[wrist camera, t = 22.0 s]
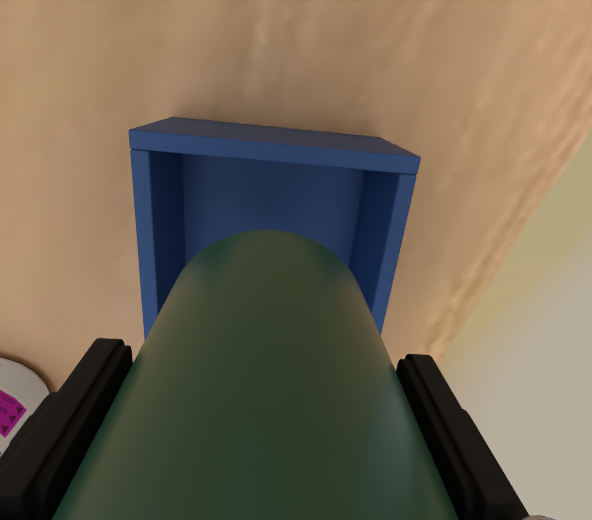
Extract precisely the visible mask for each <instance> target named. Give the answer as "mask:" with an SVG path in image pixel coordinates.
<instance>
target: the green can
mask: <svg viewBox="0 0 592 520" xmlns="http://www.w3.org/2000/svg"><path fill="white" fill-rule="evenodd" d="M52 520H459V519H458V516H457V514H456V512H455V509H454V507H453V505H452V502H451V500H450V498H449V495H448V493H447V491H446V488H445V486H444V484H443V481H442V479H441V477H440V474H439V472H438V470H437V467H436V465H435V463H434V460H433V458H432V456H431V453H430V451H429V449H428V446H427V444H426V442H425V439H424V437H423V434H422V432H421V430H420V427H419V425H418V423H417V420H416V418H415V416H414V413H413V411H412V409H411V406H410V404H409V402H408V399H407V397H406V395H405V392H404V390H403V388H402V385H401V383H400V381H399V378H398V376H397V374H396V371H395V369H394V367H393V364H392V362H391V360H390V357H389V355H388V352H387V350H386V348H385V345H384V343H383V341H382V338H381V336H380V334H379V331H378V329H377V327H376V324H375V322H374V320H373V317H372V315H371V313H370V310H369V308H368V306H367V303H366V301H365V299H364V296H363V294H362V292H361V289H360V287H359V285H358V283H357V281H356V279H355V277H354V275H353V273H352V272H351V271H350V269H349V268H348V267H347V265H346V264H345V263H344V262H343V261H342V260H341V259H340V258H339V257H338V256H337V255H336V254H335V253H333V252H332V251H331V250H329V249H328V248H327V247H325V246H323V245H322V244H320V243H318V242H316V241H314V240H312V239H310V238H307V237H305V236H302V235H298V234H295V233H291V232H285V231H278V230H255V231H247V232H242V233H238V234H234V235H231V236H228V237H226V238H223V239H220V240H219V241H217V242H215V243H213V244H211V245H209V246H208V247H206V248H205V249H203V250H202V251H201V252H199V253H198V254H197V255H196V256H195V257H194V258H193V259H192V260H191V261H190V262H189V263H188V264H187V265H186V266H185V268H184V269H183V270H182V272H181V273H180V275H179V277H178V278H177V280H176V282H175V284H174V286H173V288H172V290H171V291H170V293H169V295H168V297H167V299H166V301H165V303H164V305H163V307H162V309H161V311H160V313H159V315H158V316H157V318H156V320H155V322H154V324H153V326H152V328H151V330H150V332H149V334H148V336H147V338H146V339H145V341H144V343H143V345H142V347H141V349H140V351H139V353H138V355H137V357H136V359H135V361H134V362H133V364H132V366H131V368H130V370H129V372H128V374H127V376H126V378H125V380H124V382H123V384H122V386H121V387H120V389H119V391H118V393H117V395H116V397H115V399H114V401H113V403H112V405H111V407H110V409H109V410H108V412H107V414H106V416H105V418H104V420H103V422H102V424H101V426H100V428H99V430H98V432H97V434H96V435H95V437H94V439H93V441H92V443H91V445H90V447H89V449H88V451H87V453H86V455H85V457H84V458H83V460H82V462H81V464H80V466H79V468H78V470H77V472H76V474H75V476H74V478H73V480H72V481H71V483H70V485H69V487H68V489H67V491H66V493H65V495H64V497H63V499H62V501H61V503H60V505H59V506H58V508H57V510H56V512H55V514H54V516H53V518H52Z"/></svg>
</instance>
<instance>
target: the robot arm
mask: <svg viewBox="0 0 592 520" xmlns="http://www.w3.org/2000/svg"><path fill="white" fill-rule="evenodd" d="M132 364H133V361H132V350H131V347H130V346H126V345H124V342H123V340H122V339H106V338H98V339H96V340H95V341H94V342H93V344H92V345H91V347H90V348H89V349H88V351H87V352H86V353H85V355H84V356H83V358H82V359H81V360H80V362H79V363H78V365H77V366H76V367H75V369H74V370H73V371H72V373H71V374H70V376H69V377H68V378H67V380H66V381H65V383H64V384H63V385H62V387H61V388H60V389H59V391H58V392H52V393H50V394H48V395H47V396H46V397H45V398H44V399H43V401H42V402H41V403H40V405H39V406H38V407H37V409H36V410H35V411H34V413H33V414H32V415H31V417H30V418H29V419H28V421H27V422H26V423H25V425H24V426H23V427H22V429H21V430H20V431H19V433H18V434H17V435H16V437H15V438H14V439H13V441H12V442H11V443H10V445H9V446H8V447H7V449H6V450H5V451H4V453H3V454H2V455H1V457H0V520H52V518H53V516H54V514H55V512H56V510H57V508H58V506H59V505H60V503H61V501H62V499H63V497H64V495H65V493H66V491H67V489H68V487H69V485H70V483H71V481H72V480H73V478H74V476H75V474H76V472H77V470H78V468H79V466H80V464H81V462H82V460H83V458H84V457H85V455H86V453H87V451H88V449H89V447H90V445H91V443H92V441H93V439H94V437H95V435H96V434H97V432H98V430H99V428H100V426H101V424H102V422H103V420H104V418H105V416H106V414H107V412H108V410H109V409H110V407H111V405H112V403H113V401H114V399H115V397H116V395H117V393H118V391H119V389H120V387H121V386H122V384H123V382H124V380H125V378H126V376H127V374H128V372H129V370H130V368H131V366H132ZM396 374H397V376H398V378H399V381H400V383H401V385H402V388H403V390H404V392H405V395H406V397H407V399H408V402H409V404H410V406H411V409H412V411H413V413H414V416H415V418H416V420H417V423H418V425H419V427H420V430H421V432H422V434H423V437H424V439H425V442H426V444H427V446H428V449H429V451H430V453H431V456H432V458H433V460H434V463H435V465H436V467H437V470H438V472H439V474H440V477H441V479H442V481H443V484H444V486H445V488H446V491H447V493H448V495H449V498H450V500H451V502H452V505H453V507H454V509H455V512H456V514H457V516H458V519H459V520H555V519H552V518H548V517H545V516H541V515H536V516H529V514H528V512H527V511H526V509H525V507H524V506H523V504H522V502H521V501H520V499H519V497H518V496H517V494H516V492H515V491H514V489H513V487H512V486H511V484H510V482H509V480H508V479H507V477H506V475H505V474H504V472H503V470H502V469H501V467H500V465H499V464H498V462H497V460H496V459H495V457H494V455H493V454H492V452H491V450H490V449H489V447H488V445H487V444H486V442H485V440H484V439H483V437H482V435H481V434H480V432H479V430H478V429H477V427H476V425H475V424H474V422H473V420H472V419H471V417H470V415H469V414H468V413H467V411H465V410H464V409H462V408H461V406H460V405H459V403H458V401H457V399H456V397H455V396H454V394H453V392H452V391H451V389H450V387H449V386H448V384H447V382H446V381H445V379H444V377H443V375H442V374H441V372H440V370H439V368H438V367H437V365H436V363H435V362H434V360H433V358H432V357H431V356H430V355H420V354H407V355H406V357H405V359H400V360H399V362H398V365H397V369H396Z"/></svg>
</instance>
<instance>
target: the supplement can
mask: <svg viewBox="0 0 592 520" xmlns="http://www.w3.org/2000/svg"><path fill="white" fill-rule="evenodd" d="M48 394H50V393H49V391H48V389H47V387H46V384H45V383H44V382H43V381H42V380H41V379H40V377H39V376H38V375H37V374H36V373H35V372H33V371H32V370H30V369H28V368H27V367H25V366H23V365H22V364H20V363H17V362H14V361H11V360H8V359H4V358H0V457H1V455H2V454H3V453H4V451H5V450H6V449H7V447H8V446H9V445H10V443H11V442H12V441H13V439H14V438H15V437H16V435H17V434H18V433H19V431H20V430H21V429H22V427H23V426H24V425H25V423H26V422H27V421H28V419H29V418H30V417H31V415H32V414H33V413H34V411H35V410H36V409H37V407H38V406H39V405H40V403H41V402H42V401H43V399H44V398H45V397H46V396H47V395H48Z"/></svg>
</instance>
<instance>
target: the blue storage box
mask: <svg viewBox="0 0 592 520" xmlns="http://www.w3.org/2000/svg"><path fill="white" fill-rule="evenodd" d="M129 140H130V148H131V151H130V152H131V165H132V179H133V192H134V205H135V218H136V231H137V244H138V258H139V271H140V284H141V297H142V310H143V324H144V337H145V339H146V338H147V336H148V334H149V332H150V330H151V328H152V326H153V324H154V322H155V320H156V318H157V316H158V315H159V313H160V311H161V309H162V307H163V305H164V303H165V301H166V299H167V297H168V295H169V293H170V291H171V290H172V288H173V286H174V284H175V282H176V280H177V278H178V277H179V275H180V273H181V272H182V270H183V269H184V268H185V266H186V265H187V264H188V263H189V262H190V261H191V260H192V259H193V258H194V257H195V256H196V255H197V254H198V253H199V252H201V251H202V250H203V249H205V248H206V247H208V246H209V245H211V244H213V243H215V242H217V241H219V240H220V239H223V238H226V237H228V236H231V235H234V234H238V233H242V232H247V231H255V230H278V231H285V232H291V233H295V234H298V235H302V236H305V237H307V238H310V239H312V240H314V241H316V242H318V243H320V244H322V245H323V246H325V247H327V248H328V249H329V250H331V251H332V252H333V253H335V254H336V255H337V256H338V257H339V258H340V259H341V260H342V261H343V262H344V263H345V264H346V265H347V267H348V268H349V269H350V271H351V272H352V273H353V275H354V277H355V279H356V281H357V283H358V285H359V287H360V289H361V292H362V294H363V296H364V299H365V301H366V303H367V306H368V308H369V310H370V313H371V315H372V317H373V320H374V322H375V324H376V327H377V329H378V331H379V334H380V336H381V331H382V327H383V323H384V318H385V314H386V309H387V305H388V300H389V296H390V292H391V287H392V283H393V278H394V274H395V269H396V265H397V260H398V256H399V252H400V247H401V243H402V238H403V234H404V229H405V225H406V221H407V216H408V212H409V207H410V203H411V198H412V194H413V190H414V185H415V181H416V174H417V173H418V168H419V164H420V159H421V157H419V156H417V155H415V154H413V153H411V152H409V151H407V150H405V149H403V148H400V147H398V146H396V145H394V144H392V143H390V142H388V141H386V140H384V139H382V138H380V137H371V136H361V135H350V134H340V133H330V132H320V131H310V130H300V129H289V128H279V127H269V126H259V125H249V124H239V123H228V122H218V121H208V120H198V119H188V118H178V117H170V118H167V119H164V120H161V121H157V122H154V123H150V124H147V125H143V126H140V127H137V128H133V129H130V130H129Z"/></svg>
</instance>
